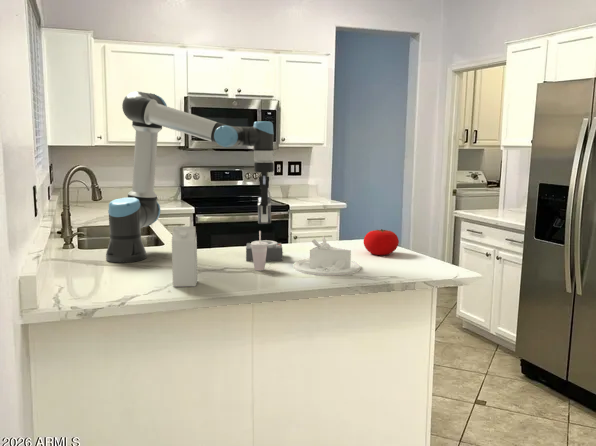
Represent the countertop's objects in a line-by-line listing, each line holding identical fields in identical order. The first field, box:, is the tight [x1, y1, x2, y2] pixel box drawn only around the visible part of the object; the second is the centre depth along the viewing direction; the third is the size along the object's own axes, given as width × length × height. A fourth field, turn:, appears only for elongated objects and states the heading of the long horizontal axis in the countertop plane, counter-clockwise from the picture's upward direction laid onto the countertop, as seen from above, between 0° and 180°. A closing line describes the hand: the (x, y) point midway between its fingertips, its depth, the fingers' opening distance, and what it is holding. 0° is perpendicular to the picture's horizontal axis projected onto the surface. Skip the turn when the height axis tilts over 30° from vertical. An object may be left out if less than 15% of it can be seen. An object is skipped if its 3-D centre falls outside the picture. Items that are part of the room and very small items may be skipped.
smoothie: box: [251, 230, 268, 272], centre depth 201 cm, size 6×6×14 cm
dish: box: [292, 235, 361, 277], centre depth 205 cm, size 25×25×11 cm
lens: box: [257, 196, 272, 225], centre depth 219 cm, size 5×5×10 cm
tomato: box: [363, 228, 400, 256], centre depth 230 cm, size 14×13×10 cm
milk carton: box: [171, 225, 198, 288], centre depth 180 cm, size 7×7×19 cm
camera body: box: [245, 239, 283, 262], centre depth 221 cm, size 14×11×6 cm
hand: (264, 221), depth 219 cm, fingers closed on lens, 5 cm apart
